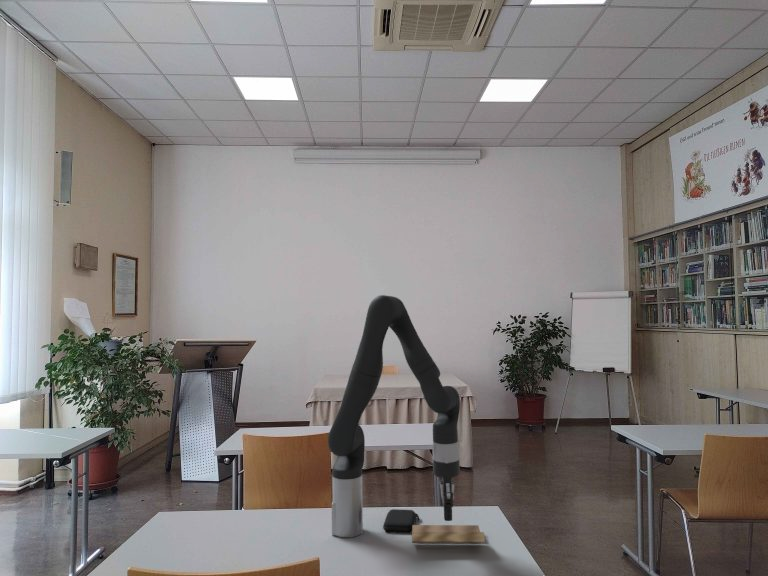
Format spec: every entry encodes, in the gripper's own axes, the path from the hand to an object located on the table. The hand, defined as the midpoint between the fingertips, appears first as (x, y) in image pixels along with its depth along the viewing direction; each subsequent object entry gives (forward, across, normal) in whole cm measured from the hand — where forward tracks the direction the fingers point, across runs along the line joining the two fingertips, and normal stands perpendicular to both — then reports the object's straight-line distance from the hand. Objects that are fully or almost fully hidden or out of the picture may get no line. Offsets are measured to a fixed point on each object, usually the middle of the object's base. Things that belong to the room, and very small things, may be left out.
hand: (448, 519), depth 153 cm
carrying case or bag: (+9, -20, -14) cm, 26 cm away
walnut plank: (+9, -10, 0) cm, 13 cm away
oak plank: (+7, -1, 0) cm, 7 cm away
